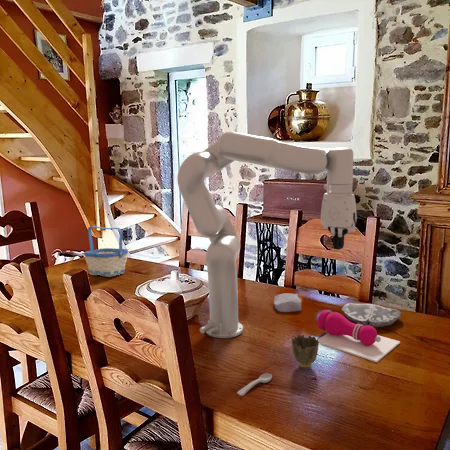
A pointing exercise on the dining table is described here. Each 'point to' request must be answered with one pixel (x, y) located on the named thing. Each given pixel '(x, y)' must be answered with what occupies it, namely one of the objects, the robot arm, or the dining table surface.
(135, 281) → the dining table surface
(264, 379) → the spoon
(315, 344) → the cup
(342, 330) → the pepper mill
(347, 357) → the dining table surface
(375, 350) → the white mat
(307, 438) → the dining table surface
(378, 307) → the brain slice
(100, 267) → the basket
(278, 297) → the stone block
